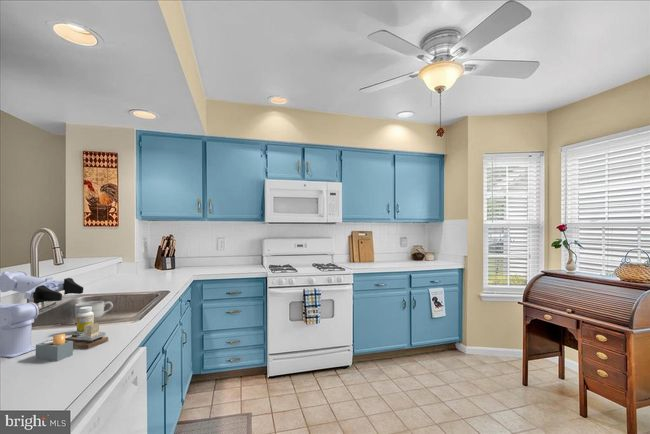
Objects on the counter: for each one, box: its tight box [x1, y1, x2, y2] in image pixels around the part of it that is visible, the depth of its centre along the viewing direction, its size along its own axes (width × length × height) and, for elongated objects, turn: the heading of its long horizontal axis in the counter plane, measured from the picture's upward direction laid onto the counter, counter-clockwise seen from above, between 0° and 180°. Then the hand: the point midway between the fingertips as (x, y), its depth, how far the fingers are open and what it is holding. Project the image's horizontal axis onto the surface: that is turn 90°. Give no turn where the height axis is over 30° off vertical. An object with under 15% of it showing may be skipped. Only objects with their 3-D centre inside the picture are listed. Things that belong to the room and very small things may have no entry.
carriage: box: [77, 322, 106, 341], centre depth 115 cm, size 6×6×4 cm
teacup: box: [74, 300, 114, 321], centre depth 144 cm, size 14×11×8 cm
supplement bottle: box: [76, 306, 94, 335], centre depth 128 cm, size 5×5×10 cm
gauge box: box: [35, 338, 74, 362], centre depth 104 cm, size 8×5×5 cm, turn 79°
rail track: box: [65, 333, 109, 350], centre depth 115 cm, size 14×8×2 cm, turn 79°
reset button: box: [52, 333, 66, 346], centre depth 103 cm, size 3×3×5 cm
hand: (72, 293), depth 105 cm, fingers open, 7 cm apart
